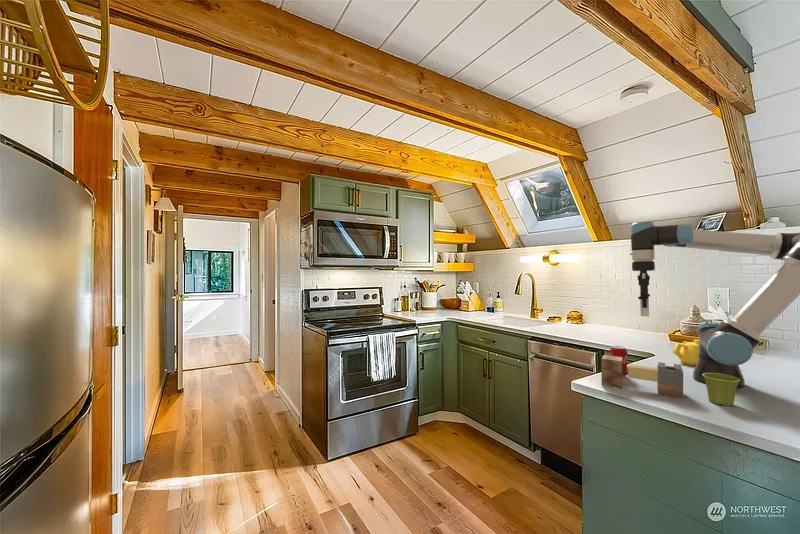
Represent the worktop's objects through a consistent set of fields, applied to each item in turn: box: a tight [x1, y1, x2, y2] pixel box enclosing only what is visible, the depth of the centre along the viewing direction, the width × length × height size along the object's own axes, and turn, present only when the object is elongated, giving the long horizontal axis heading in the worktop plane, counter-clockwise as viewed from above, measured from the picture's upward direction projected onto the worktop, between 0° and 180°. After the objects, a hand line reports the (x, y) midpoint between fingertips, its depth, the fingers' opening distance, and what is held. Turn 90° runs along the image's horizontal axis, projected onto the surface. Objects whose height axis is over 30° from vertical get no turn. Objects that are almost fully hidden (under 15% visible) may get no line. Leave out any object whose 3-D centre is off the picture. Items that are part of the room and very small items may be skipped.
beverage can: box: [609, 345, 628, 379], centre depth 148 cm, size 6×6×12 cm
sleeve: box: [656, 361, 684, 400], centre depth 128 cm, size 7×7×10 cm
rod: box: [626, 363, 675, 383], centre depth 130 cm, size 16×4×4 cm, turn 56°
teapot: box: [672, 339, 699, 367], centre depth 169 cm, size 20×18×11 cm
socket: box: [601, 354, 623, 390], centre depth 138 cm, size 6×7×10 cm
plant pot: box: [702, 373, 740, 407], centre depth 119 cm, size 9×9×9 cm
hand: (644, 314), depth 142 cm, fingers open, 13 cm apart
